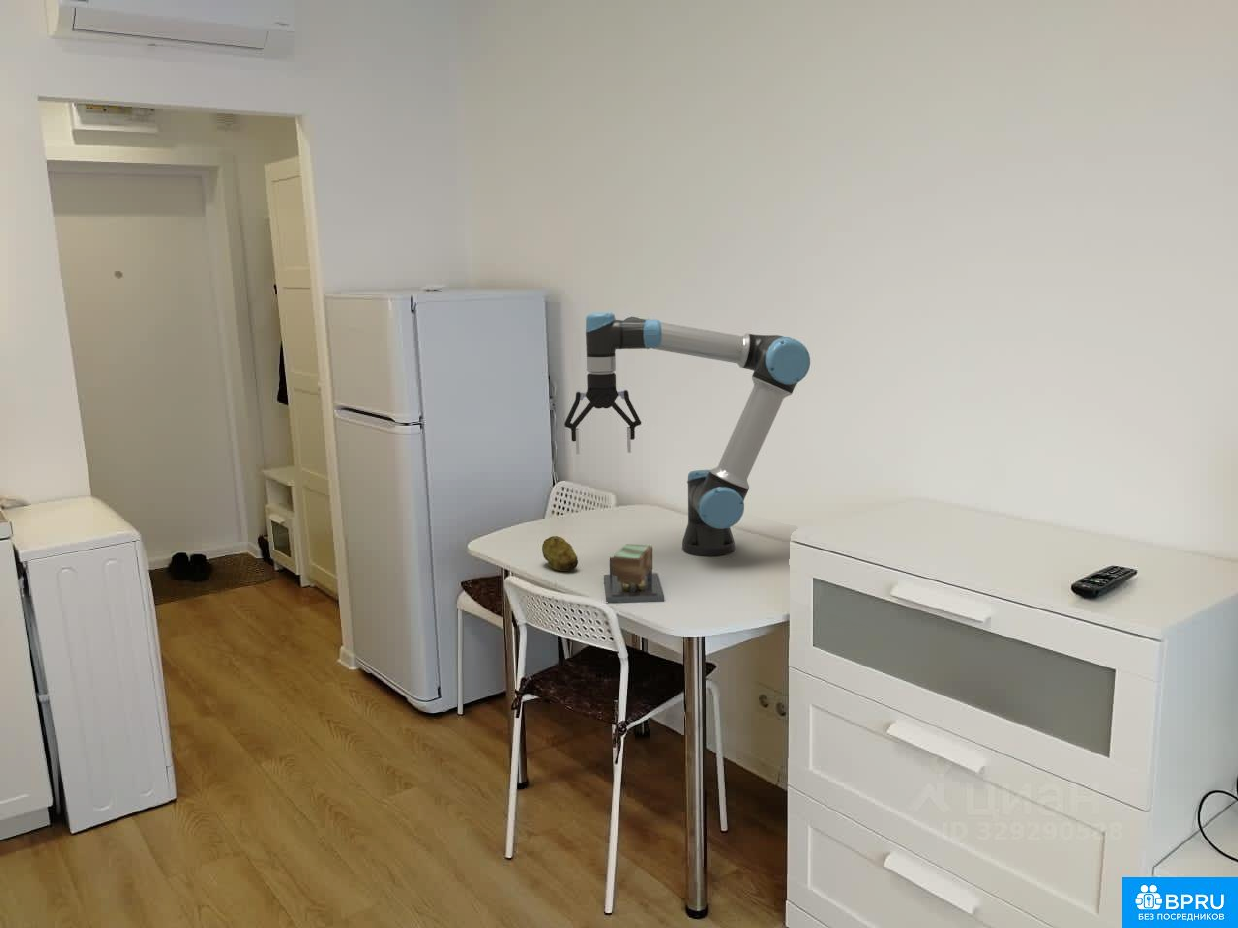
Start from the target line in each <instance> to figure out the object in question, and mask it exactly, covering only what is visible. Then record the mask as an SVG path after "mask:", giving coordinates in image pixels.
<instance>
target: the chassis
mask: <svg viewBox="0 0 1238 928" xmlns="http://www.w3.org/2000/svg"><path fill="white" fill-rule="evenodd" d="M612 557H613V556H609V574H603V586H604V594H605V601H606V602H608V603H607V604H621V603H622V604H624V603H626V604H627V603H649V602H650V603H651V602H654V603H655V602H664V601H665V594H664V590H663V587H662V584H661V580H660V578H659V577H660V576H659V573H658V572H653V569H652V570H651V571H650V572H649V574H648V575H647V576H646V577H645V578H644V579H643V580H642V581H641V583H627V582H617V575H612ZM606 602H605V603H606Z"/></svg>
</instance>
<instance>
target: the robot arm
mask: <svg viewBox="0 0 1238 928" xmlns="http://www.w3.org/2000/svg"><path fill="white" fill-rule="evenodd" d="M615 315H616V314H614V313H613V312H592V313H591V312H590V313H589V314H587V316H586V322H585V327H586V328H585V338H586V339H585V341H586V370H587V371H586V372H588V374H587V376H586V378H587V382H586V383H587V390H586V392H582V391H579V390H578V391H576V392H575V400H574V402H573V404H572V406H571V408H570V409H569V412H568V414H567V417H566V418H565V421H564V424H563V425H564V428H568V429H570V432H571V433H570V434H571V435H570V436H571V441H572V442H575V449H576V450H575V453H576V455H580V438H579V436H580V435H579V433H580V431H579V429H580V428H579V427H578V426H579V425H580V424H581V422H582V421H583V420H584V419H585V417H586V416H587V415H588V414H589V412H590V411H591V410H592V409H593V408H595V409H609V408H611V407H612V408H613V409H614V410H615V412H616V413H617V414H618V415H619V417H621V418H622V420H624V422H626V424H627V425H628V426H627V427H626V437H627V438H626V442H627V443H626V449H627V453H628V454H630V453H632V450H631V449H632V447H631V443H632V441H633V440H635V437H636V436H635V434H636V430H635V429H636V427H638V426H641V425H642V420H641V419H640V417H639V415H638V413H637V411H636V409H635V408H634V406H633V403H632V402H631V400H630V396H629V391H628V390H627V389H624V390H621V391H618V390H617V373H615V372H616V371H617V364H616V363H617V361H616V360H617V359H616V356H617V355H616V350H635V349H636V350H637V349H638V350H639V349H640V350H643V349H647V350H650V349H652V350H658V351H663V352H669V353H676V354H682V355H687V356H692V357H698V358H704V359H711V360H715V361H721V362H726V363H733V364H737V366H738V367H739V368H742V369H745V370H750V371H753V373H752V375H751V379H752V382H753V387H752V389H751V391H750V394H749V396H748V398H747V401H746V402H745V405H744V407H743V410H742V411H741V414H740V416H739V417H738V420H737V423H736V425H735V427H734V430H733V431H732V434H731V436H730V438H729V440H728V443H727V445H726V447H725V449H724V452H723V454H722V456H721V458H720V461H719V462H718V465H717V466H716V467H713V468H711V469H699V470H692V471H689V473H688V475H687V480H686V483H687V525H686V527H685V531H684V534H683V537H682V541H681V549H682V550H683V551H684V552H685V553H688V554H690V555H695V556H708V557H709V556H710V557H711V556H722V555H726V554H731V553H732V552H734V551H735V549H736V541H735V537H734V534H733V531H732V529H731V527H733V526H734V525H736V524H737V523H738V522H739V521H740V520H741V518H742V517H743V515H744V510H745V503H744V500H745V498H746V496H747V495H748V494H747V493H748V492H749V490H750V485H749V483H748V482H749V481H748V478H749V476H750V473H751V472H752V469H753V467H754V465H755V462H756V460H757V459H758V456H759V453H760V452H761V449H762V447H763V445H764V444H765V440H766V438H767V436H768V435H769V431H771V427H772V425H773V424H774V421H775V419H776V416H777V414H778V412H779V410H780V409H781V406H782V404H783V401H784V399H786V398H788V397H789V396H793V394H794V391H795V389H796V388H797V387H796V386H797V384H798V383H799V382H800V381H803V379H804V378H805V377H806V376H807V374H808V373H809V370H810V366H811V357H810V356H811V355H810V353H809V351H808V349H807V347H806V346H805V345H804V344H803V343H801V341H799V340H797V339H796V338H792V337H789V336H782V335H778V334H777V335H776V334H775V335H772V334H771V335H770V334H768V335H767V334H765V335H764V334H753V333H752V334H751V333H745V334H743V335H737V334H731V333H724V332H720V331H714V330H708V329H702V328H697V327H696V328H695V327H691V326H685V325H681V324H680V325H679V324H673V323H667V322H661V321H660V320H659V319H650V318H646V319H645V318H644V319H643V318H639V317H635V316H630V317H626V318H624V319H616V316H615ZM618 397H620V398H621V399H622V400H624V401H625V404H626V405H627V408H628V409H629V412H630V413H631V416H632V417H633V419H634V421H633V420H631V418H630V417H629V416H628V415H627V414H626V412H625V411H623V409H622V408H621V407H620V406H619V405H618V404H617V403H616V402H615V401H617V400H618V399H617V398H618ZM584 398H587V399H586V400H588V401H589V402H588V403H587V405H586V406H585V407H584V409H583V410H582V411H581V412H580V413H579V415H578V416H577V417H576V418H575V420H574V421H572V420H573V418H574V415H575V413H576V411H577V410H578V407H579V405H580V402H581V401H583V400H584ZM571 421H572V423H571ZM577 427H578V428H577Z"/></svg>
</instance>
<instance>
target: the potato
mask: <svg viewBox="0 0 1238 928" xmlns="http://www.w3.org/2000/svg"><path fill="white" fill-rule="evenodd" d="M541 551H542V552H541V553H542V556H543V557H544V559H545V560H546V561H547V562H548V565H549V566H550V567H551V568H552V569H553V570H555V571H559V572H571V571H574V570H576V568H577V567H578V564H579V560H578V556H577V554H576V552H575V551H574V549H573V546H572V545H571V544H569V542H567V541H566V540H565V539H564V538H562V537H561V536H557V535H554V536H553V535H552V536H549V537H548V538H546V539H545V540H544V541H543V544H542V548H541Z"/></svg>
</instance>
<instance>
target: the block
mask: <svg viewBox="0 0 1238 928" xmlns="http://www.w3.org/2000/svg"><path fill="white" fill-rule="evenodd" d="M611 557H612V575H617V582H627V583H641V581H642V580H643V579H644V578H645V577H646V576H647V575H648V574H649V572H650V571H651V570H652V571H653V546H651V545H646V544H645V545H644V544H631V543H627V544H625V545H624V546H622V548H621V549H620V550H618V551H617V552H616V553H615V554H614V555H613V556H611Z"/></svg>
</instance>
